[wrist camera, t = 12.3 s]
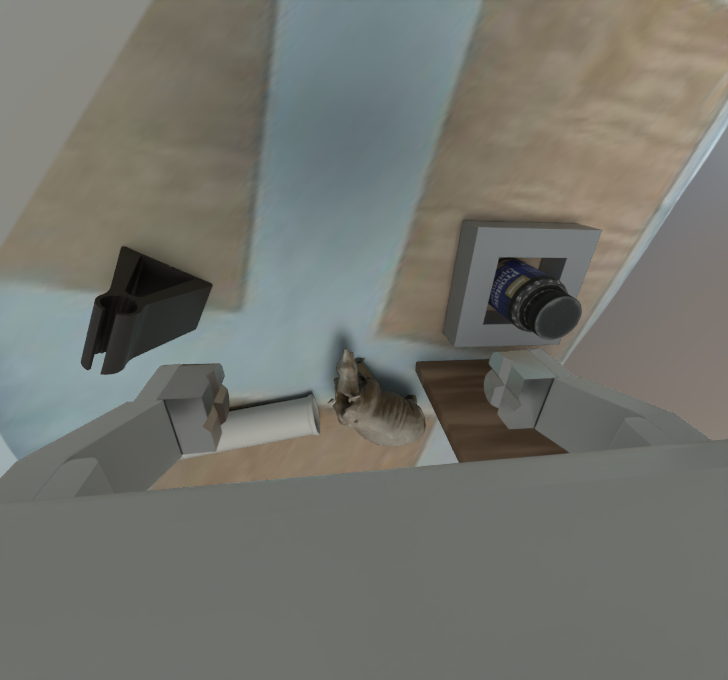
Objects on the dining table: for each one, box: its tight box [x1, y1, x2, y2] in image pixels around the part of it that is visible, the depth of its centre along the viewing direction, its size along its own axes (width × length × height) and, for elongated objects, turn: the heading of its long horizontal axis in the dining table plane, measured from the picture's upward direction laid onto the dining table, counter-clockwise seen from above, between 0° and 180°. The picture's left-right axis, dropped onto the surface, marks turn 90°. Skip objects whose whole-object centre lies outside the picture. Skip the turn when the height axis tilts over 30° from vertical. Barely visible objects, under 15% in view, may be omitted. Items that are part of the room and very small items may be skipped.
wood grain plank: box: [415, 359, 569, 463], centre depth 28 cm, size 6×18×42 cm, turn 87°
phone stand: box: [81, 247, 212, 375], centre depth 31 cm, size 9×6×12 cm, turn 60°
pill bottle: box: [488, 258, 581, 340], centre depth 36 cm, size 6×6×11 cm
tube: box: [179, 394, 320, 460], centre depth 44 cm, size 5×5×25 cm
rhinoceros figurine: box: [328, 348, 426, 446], centre depth 42 cm, size 8×14×15 cm
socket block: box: [443, 221, 602, 347], centre depth 39 cm, size 14×14×4 cm
